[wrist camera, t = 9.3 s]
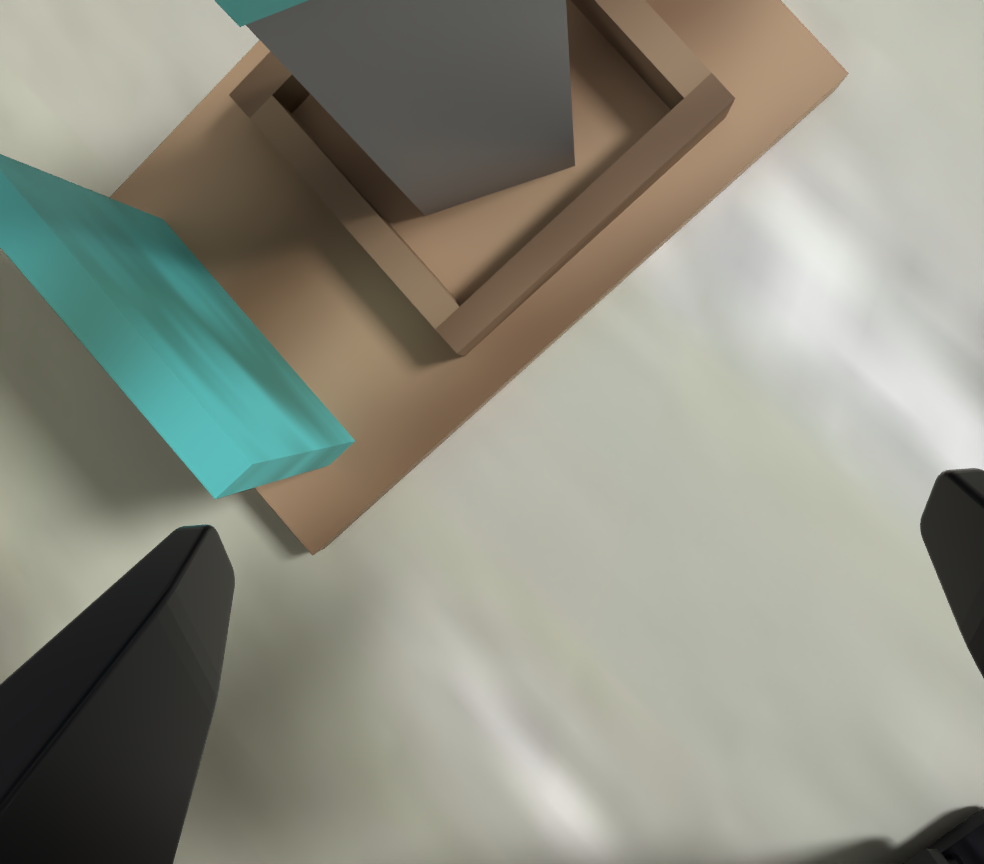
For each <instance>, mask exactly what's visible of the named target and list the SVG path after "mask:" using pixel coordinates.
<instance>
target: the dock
mask: <svg viewBox="0 0 984 864" xmlns="http://www.w3.org/2000/svg"><path fill="white" fill-rule="evenodd" d="M566 8H567V26H568V44H569V63H570V81H571V99H572V117H573V135H574V154H575V166H573V167H570V168H567V169H564V170H561V171H558V172H555V173H552V174H549V175H546V176H543V177H540V178H537V179H534V180H531V181H528V182H525V183H522V184H519V185H516V186H513V187H510V188H507V189H504V190H501V191H498V192H495V193H492V194H489V195H486V196H483V197H480V198H477V199H474V200H471V201H468V202H465V203H462V204H459V205H456V206H454V207H451V208H448V209H445V210H442V211H439V212H436V213H433V214H430V215H427V216H425V215H424V214H423V213H422V212H421V211H420V210H419V209H418V208H417V207H416V206H415V205H414V204H413V203H412V202H411V200H410V199H409V198H408V197H407V196H406V195H405V194H404V193H403V192H402V191H401V190H400V189H399V188H398V187H397V186H396V184H395V183H394V182H393V181H392V180H391V179H390V178H389V177H388V176H387V175H386V174H385V173H384V172H383V171H382V170H381V168H380V167H379V166H378V165H377V164H376V163H375V162H374V161H373V160H372V159H371V158H370V157H369V156H368V155H367V154H366V153H365V151H364V150H363V149H362V148H361V147H360V146H359V145H358V144H357V143H356V142H355V141H354V140H353V139H352V138H351V137H350V135H349V134H348V133H347V132H346V131H345V130H344V129H343V128H342V127H341V126H340V125H339V124H338V123H337V122H336V121H335V119H334V118H333V117H332V116H331V115H330V114H329V113H328V112H327V111H326V110H325V109H324V108H323V107H322V106H321V105H320V103H319V102H318V101H317V100H316V99H315V98H314V97H313V96H312V95H311V94H310V93H309V92H308V91H307V90H306V89H305V88H304V86H303V85H302V84H301V83H300V82H299V81H298V80H297V79H296V78H295V77H294V76H293V75H292V74H291V73H290V72H289V70H288V69H287V68H286V67H285V66H284V65H283V64H282V63H281V62H280V61H279V60H278V59H277V58H276V57H275V56H274V54H273V53H272V52H271V51H270V50H269V49H268V48H267V47H266V46H265V45H264V44H263V43H262V42H261V41H260V40H259V41H258V42H257V43H256V44H255V45H254V46H253V48H252V49H251V50H250V51H249V52H248V53H247V54H246V55H245V56H244V57H243V58H242V59H241V60H240V61H239V62H238V63H237V64H236V65H235V66H234V67H233V69H232V70H231V71H230V72H229V73H228V74H227V75H226V76H225V77H224V78H223V79H222V80H221V81H220V82H219V83H218V84H217V85H216V86H215V87H214V89H213V90H212V91H211V92H210V93H209V94H208V95H207V96H206V97H205V98H204V99H203V100H202V101H201V102H200V103H199V104H198V105H197V106H196V107H195V108H194V110H193V111H192V112H191V113H190V114H189V115H188V116H187V117H186V118H185V119H184V120H183V121H182V122H181V123H180V124H179V125H178V126H177V127H176V128H175V129H174V131H173V132H172V133H171V134H170V135H169V136H168V137H167V138H166V139H165V140H164V141H163V142H162V143H161V144H160V145H159V146H158V147H157V148H156V149H155V150H154V152H153V153H152V154H151V155H150V156H149V157H148V158H147V159H146V160H145V161H144V162H143V163H142V164H141V165H140V166H139V167H138V168H137V169H136V170H135V172H134V173H133V174H132V175H131V176H130V177H129V178H128V179H127V180H126V181H125V182H124V183H123V184H122V185H121V186H120V187H119V188H118V189H117V190H116V191H115V193H114V194H113V195H112V196H111V197H110V198H109V197H106V196H104V195H101V194H99V193H96V192H94V191H91V190H89V189H86V188H84V187H81V186H79V185H76V184H74V183H71V182H69V181H66V180H64V179H61V178H59V177H56V176H54V175H51V174H49V173H46V172H44V171H41V170H39V169H36V168H34V167H31V166H29V165H26V164H24V163H21V162H19V161H16V160H14V159H11V158H9V157H6V156H4V155H1V154H0V248H1V249H2V250H3V251H4V252H5V253H6V255H7V256H8V257H9V258H10V259H11V260H12V262H13V263H14V264H15V265H16V266H17V268H18V269H19V270H20V271H21V272H22V273H23V275H24V276H25V277H26V278H27V279H28V280H29V282H30V283H31V284H32V285H33V286H34V287H35V289H36V290H37V291H38V292H39V293H40V295H41V296H42V297H43V298H44V299H45V300H46V302H47V303H48V304H49V305H50V306H51V307H52V309H53V310H54V311H55V312H56V313H57V314H58V316H59V317H60V318H61V319H62V320H63V321H64V323H65V324H66V325H67V326H68V327H69V329H70V330H71V331H72V332H73V333H74V334H75V336H76V337H77V338H78V339H79V340H80V341H81V343H82V344H83V345H84V346H85V347H86V348H87V350H88V351H89V352H90V353H91V354H92V356H93V357H94V358H95V359H96V360H97V361H98V363H99V364H100V365H101V366H102V367H103V368H104V370H105V371H106V372H107V373H108V374H109V375H110V377H111V378H112V379H113V380H114V381H115V382H116V384H117V385H118V386H119V387H120V388H121V390H122V391H123V392H124V393H125V394H126V395H127V397H128V398H129V399H130V400H131V401H132V402H133V404H134V405H135V406H136V407H137V408H138V409H139V411H140V412H141V413H142V414H143V415H144V417H145V418H146V419H147V420H148V421H149V422H150V424H151V425H152V426H153V427H154V428H155V429H156V431H157V432H158V433H159V434H160V435H161V436H162V438H163V439H164V440H165V441H166V442H167V444H168V445H169V446H170V447H171V448H172V449H173V451H174V452H175V453H176V454H177V455H178V456H179V458H180V459H181V460H182V461H183V462H184V463H185V465H186V466H187V467H188V468H189V469H190V470H191V472H192V473H193V474H194V475H195V476H196V478H197V479H198V480H199V481H200V482H201V483H202V485H203V486H204V487H205V488H206V489H207V490H208V492H209V493H210V494H211V495H212V496H213V497H214V499H218V498H221V497H224V496H228V495H231V494H234V493H238V492H241V491H245V490H248V489H251V488H255V489H256V490H257V491H258V492H259V493H260V495H261V496H262V497H263V498H264V499H265V500H266V502H267V503H268V504H269V505H270V506H271V507H272V509H273V510H274V511H275V512H276V513H277V514H278V516H279V517H280V518H281V519H282V520H283V522H284V523H285V524H286V525H287V526H288V527H289V529H290V530H291V531H292V532H293V533H294V534H295V536H296V537H297V538H298V539H299V540H300V541H301V543H302V544H303V545H304V546H305V547H306V548H307V550H308V551H309V552H310V553H311V554H312V555H314V554H315V553H317V552H319V551H320V550H322V549H324V548H325V547H327V546H328V545H329V544H330V543H331V542H332V541H333V540H334V539H335V538H337V537H338V536H339V535H340V534H341V533H342V532H343V531H344V530H345V529H347V528H348V527H349V526H350V525H351V524H352V523H353V522H354V521H355V520H357V519H358V518H359V517H360V516H361V515H362V514H363V513H364V512H366V511H367V510H368V509H369V508H370V507H371V506H372V505H373V504H374V503H376V502H377V501H378V500H379V499H380V498H381V497H382V496H383V495H384V494H386V493H387V492H388V491H389V490H390V489H391V488H392V487H393V486H394V485H396V484H397V483H398V482H399V481H400V480H401V479H402V478H403V477H405V476H406V475H407V474H408V473H409V472H410V471H411V470H412V469H413V468H415V467H416V466H417V465H418V464H419V463H420V462H421V461H422V460H423V459H425V458H426V457H427V456H428V455H429V454H430V453H431V452H432V451H433V450H435V449H436V448H437V447H438V446H439V445H440V444H441V443H442V442H444V441H445V440H446V439H447V438H448V437H449V436H450V435H451V434H452V433H454V432H455V431H456V430H457V429H458V428H459V427H460V426H461V425H462V424H464V423H465V422H466V421H467V420H468V419H469V418H470V417H471V416H472V415H474V414H475V413H476V412H477V411H478V410H479V409H480V408H481V407H483V406H484V405H485V404H486V403H487V402H488V401H489V400H490V399H491V398H493V397H494V396H495V395H496V394H497V393H498V392H499V391H500V390H501V389H503V388H504V387H505V386H506V385H507V384H508V383H509V382H510V381H511V380H513V379H514V378H515V377H516V376H517V375H518V374H519V373H520V372H522V371H523V370H524V369H525V368H526V367H527V366H528V365H529V364H530V363H532V362H533V361H534V360H535V359H536V358H537V357H538V356H539V355H540V354H542V353H543V352H544V351H545V350H546V349H547V348H548V347H549V346H550V345H552V344H553V343H554V342H555V341H556V340H557V339H558V338H559V337H561V336H562V335H563V334H564V333H565V332H566V331H567V330H568V329H569V328H571V327H572V326H573V325H574V324H575V323H576V322H577V321H578V320H579V319H581V318H582V317H583V316H584V315H585V314H586V313H587V312H588V311H589V310H591V309H592V308H593V307H594V306H595V305H596V304H597V303H598V302H600V301H601V300H602V299H603V298H604V297H605V296H606V295H607V294H608V293H610V292H611V291H612V290H613V289H614V288H615V287H616V286H617V285H618V284H620V283H621V282H622V281H623V280H624V279H625V278H626V277H627V276H628V275H630V274H631V273H632V272H633V271H634V270H635V269H636V268H637V267H639V266H640V265H641V264H642V263H643V262H644V261H645V260H646V259H647V258H649V257H650V256H651V255H652V254H653V253H654V252H655V251H656V250H657V249H659V248H660V247H661V246H662V245H663V244H664V243H665V242H666V241H667V240H669V239H670V238H671V237H672V236H673V235H674V234H675V233H676V232H678V231H679V230H680V229H681V228H682V227H683V226H684V225H685V224H686V223H688V222H689V221H690V220H691V219H692V218H693V217H694V216H695V215H696V214H698V213H699V212H700V211H701V210H702V209H703V208H704V207H705V206H706V205H708V204H709V203H710V202H711V201H712V200H713V199H714V198H715V197H717V196H718V195H719V194H720V193H721V192H722V191H723V190H724V189H725V188H727V187H728V186H729V185H730V184H731V183H732V182H733V181H734V180H735V179H737V178H738V177H739V176H740V175H741V174H742V173H743V172H744V171H745V170H747V169H748V168H749V167H750V166H751V165H752V164H753V163H754V162H756V161H757V160H758V159H759V158H760V157H761V156H762V155H763V154H764V153H766V152H767V151H768V150H769V149H770V148H771V147H772V146H773V145H774V144H776V143H777V142H778V141H779V140H780V139H781V138H782V137H783V136H784V135H786V134H787V133H788V132H789V131H790V130H791V129H792V128H793V127H795V126H796V125H797V124H798V123H799V122H800V121H801V120H802V119H803V118H805V117H806V116H807V115H808V114H809V113H810V112H811V111H812V110H813V109H815V108H816V107H817V106H818V105H819V104H820V103H821V102H822V101H823V100H825V99H826V98H827V97H828V96H829V95H830V94H831V93H832V92H834V91H835V89H836V88H837V87H838V86H839V85H840V83H841V82H842V81H843V80H844V79H845V77H846V76H847V75H848V74H849V73H848V72H847V71H846V70H845V69H844V68H843V67H842V66H841V65H840V63H839V62H838V61H837V60H836V59H835V58H834V57H833V56H832V55H831V54H830V53H829V52H828V51H827V50H826V48H825V47H824V46H823V45H822V44H821V43H820V42H819V41H818V40H817V39H816V38H815V37H814V36H813V34H812V33H811V32H810V31H809V30H808V29H807V28H806V27H805V26H804V25H803V24H802V23H801V22H800V21H799V19H798V18H797V17H796V16H795V15H794V14H793V13H792V12H791V11H790V10H789V9H788V8H787V7H786V6H785V4H784V3H783V2H782V1H781V0H566Z"/></svg>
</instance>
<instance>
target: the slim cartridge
mask: <svg viewBox="0 0 984 864" xmlns="http://www.w3.org/2000/svg"><path fill="white" fill-rule="evenodd" d="M215 1H216V2H217V4H218V5H219V6H220V7H221V8H222V9H223V10H224V11H225V12H226V13H227V14H228V15H229V16H230V17H231V18H232V19H233V20H234V21H235V22H236V23H237V24H238V25H239V26H240V27H241V26H244V25H246V26H247V27H248V28H249V29H250V30H251V31H252V32H253V33H254V34H255V35H256V36H257V37H258V39H259V40H260V41H261V42H262V43H263V44H264V45H265V46H266V47H267V48H268V49H269V50H270V51H271V52H272V53H273V54H274V56H275V57H276V58H277V59H278V60H279V61H280V62H281V63H282V64H283V65H284V66H285V67H286V68H287V69H288V70H289V72H290V73H291V74H292V75H293V76H294V77H295V78H296V79H297V80H298V81H299V82H300V83H301V84H302V85H303V86H304V88H305V89H306V90H307V91H308V92H309V93H310V94H311V95H312V96H313V97H314V98H315V99H316V100H317V101H318V102H319V103H320V105H321V106H322V107H323V108H324V109H325V110H326V111H327V112H328V113H329V114H330V115H331V116H332V117H333V118H334V119H335V121H336V122H337V123H338V124H339V125H340V126H341V127H342V128H343V129H344V130H345V131H346V132H347V133H348V134H349V135H350V137H351V138H352V139H353V140H354V141H355V142H356V143H357V144H358V145H359V146H360V147H361V148H362V149H363V150H364V151H365V153H366V154H367V155H368V156H369V157H370V158H371V159H372V160H373V161H374V162H375V163H376V164H377V165H378V166H379V167H380V168H381V170H382V171H383V172H384V173H385V174H386V175H387V176H388V177H389V178H390V179H391V180H392V181H393V182H394V183H395V184H396V186H397V187H398V188H399V189H400V190H401V191H402V192H403V193H404V194H405V195H406V196H407V197H408V198H409V199H410V200H411V202H412V203H413V204H414V205H415V206H416V207H417V208H418V209H419V210H420V211H421V212H422V213H423V214H424V215H425V216H427V215H430V214H433V213H436V212H439V211H442V210H445V209H448V208H451V207H454V206H456V205H459V204H462V203H465V202H468V201H471V200H474V199H477V198H480V197H483V196H486V195H489V194H492V193H495V192H498V191H501V190H504V189H507V188H510V187H513V186H516V185H519V184H522V183H525V182H528V181H531V180H534V179H537V178H540V177H543V176H546V175H549V174H552V173H555V172H558V171H561V170H564V169H567V168H570V167H573V166H575V154H574V135H573V117H572V99H571V81H570V63H569V44H568V26H567V8H566V0H215Z"/></svg>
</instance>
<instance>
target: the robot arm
mask: <svg viewBox="0 0 984 864" xmlns="http://www.w3.org/2000/svg"><path fill="white" fill-rule="evenodd" d="M920 529H921V535H922V538H923V541H924V543H925V546H926V548H927V551H928V553H929V556H930V558H931V561H932V563H933V566H934V568H935V571H936V573H937V575H938V578H939V580H940V583H941V585H942V588H943V590H944V593H945V595H946V598H947V600H948V603H949V605H950V607H951V610H952V612H953V615H954V617H955V620H956V622H957V625H958V627H959V630H960V632H961V634H962V636H963V638H964V641H965V643H966V645H967V647H968V649H969V651H970V653H971V655H972V657H973V659H974V661H975V663H976V665H977V667H978V669H979V671H980V672H981V674H982V676H983V678H984V471H983V470H981V469H975V468H970V469H956V470H947V471H944V472H942V473H941V474H940V475H939V476H938V477H937V479H936V481H935V483H934V486H933V489H932V491H931V494H930V496H929V499H928V501H927V504H926V507H925V509H924V512H923V514H922V517H921V523H920ZM234 586H235V577H234V571H233V567H232V565H231V562H230V560H229V558H228V555H227V553H226V551H225V548H224V546H223V544H222V541H221V539H220V537H219V534H218V532H217V531H216V529H215V528H214V527H213V526H211V525H195V526H183V527H179V528H178V529H176V530H175V531H173V532H172V533H171V534H170V535H169V536H168V537H166V538H165V539H164V540H163V541H162V542H161V543H160V544H158V545H157V546H156V547H155V548H154V549H153V550H152V551H151V552H149V553H148V554H147V555H146V556H145V557H144V558H143V559H142V560H140V561H139V562H138V563H137V564H136V565H135V566H134V567H133V568H131V569H130V570H129V571H128V572H127V573H126V574H125V575H123V576H122V577H121V578H120V579H119V580H118V581H117V582H116V583H114V584H113V585H112V586H111V587H110V588H109V589H108V590H107V591H105V592H104V593H103V594H102V595H101V596H100V597H99V598H98V599H96V600H95V601H94V602H93V603H92V604H91V605H90V606H88V607H87V608H86V609H85V610H84V611H83V612H82V613H81V614H79V615H78V616H77V617H76V618H75V619H74V620H73V621H72V622H70V623H69V624H68V625H67V626H66V627H65V628H64V629H63V630H61V631H60V632H59V633H58V634H57V635H56V636H55V637H53V638H52V639H51V640H50V641H49V642H48V643H47V644H46V645H44V646H43V647H42V648H41V649H40V650H39V651H38V652H37V653H35V654H34V655H33V656H32V657H31V658H30V659H29V660H27V661H26V662H25V663H24V664H23V665H22V666H21V667H20V668H18V669H17V670H16V671H15V672H14V673H13V674H12V675H11V676H9V677H8V678H7V679H6V680H5V681H4V682H3V683H2V684H0V864H173V861H174V857H175V854H176V850H177V846H178V843H179V839H180V835H181V832H182V828H183V824H184V821H185V817H186V813H187V809H188V806H189V802H190V798H191V795H192V791H193V787H194V784H195V780H196V776H197V772H198V769H199V765H200V761H201V758H202V754H203V750H204V747H205V743H206V739H207V735H208V732H209V728H210V724H211V721H212V717H213V713H214V709H215V705H216V701H217V696H218V691H219V685H220V679H221V673H222V666H223V659H224V653H225V646H226V640H227V633H228V626H229V620H230V613H231V606H232V600H233V593H234ZM904 864H984V810H981V811H979V812H977V813H976V814H974V815H973V816H971V817H970V818H969V819H967V820H966V821H964V822H963V823H961V824H960V825H959V826H957V827H956V828H954V829H953V830H952V831H950V832H949V833H947V834H946V835H944V836H943V837H942V838H940V839H939V840H937V841H936V842H934V843H933V844H932V845H930V846H929V847H927V848H926V849H924V850H922V851H921V852H919V853H918V854H916V855H915V856H913V857H912V858H911V859H909V860H908V861H906V862H905V863H904Z"/></svg>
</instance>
